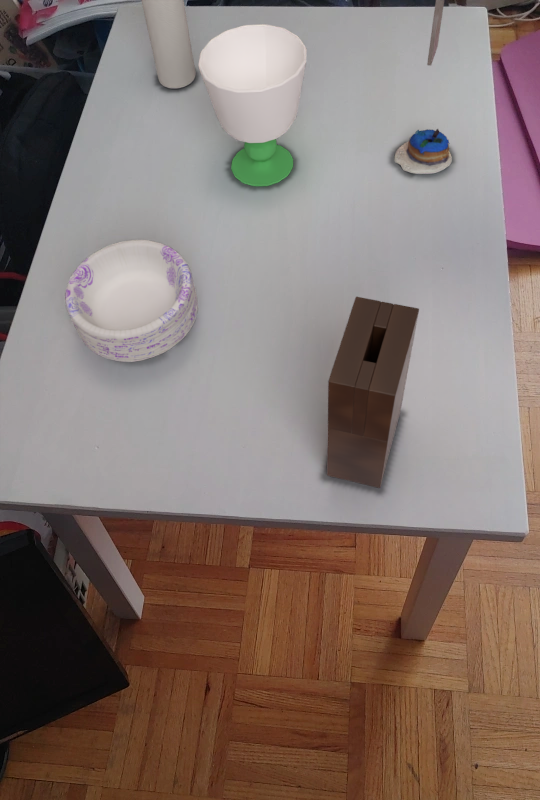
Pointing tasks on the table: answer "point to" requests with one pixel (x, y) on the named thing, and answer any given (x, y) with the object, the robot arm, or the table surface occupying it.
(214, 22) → the table surface
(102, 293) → the paper bowls
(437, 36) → the knife
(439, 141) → the dessert
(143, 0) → the paper towel roll
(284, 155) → the cup
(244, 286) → the table surface
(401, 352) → the knife block
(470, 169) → the table surface
